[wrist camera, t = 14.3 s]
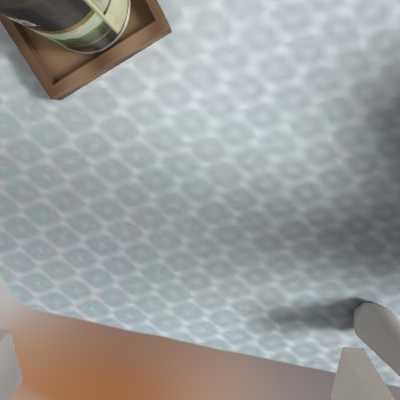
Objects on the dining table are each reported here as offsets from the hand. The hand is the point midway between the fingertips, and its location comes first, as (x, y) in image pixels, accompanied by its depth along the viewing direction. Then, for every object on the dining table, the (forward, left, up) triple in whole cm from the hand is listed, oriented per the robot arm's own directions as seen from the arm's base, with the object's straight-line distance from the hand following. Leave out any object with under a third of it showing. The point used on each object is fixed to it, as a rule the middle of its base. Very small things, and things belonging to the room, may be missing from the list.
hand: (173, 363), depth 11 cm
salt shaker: (-14, +28, -26) cm, 41 cm away
